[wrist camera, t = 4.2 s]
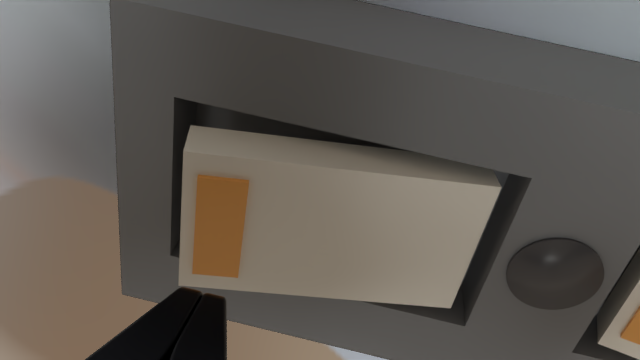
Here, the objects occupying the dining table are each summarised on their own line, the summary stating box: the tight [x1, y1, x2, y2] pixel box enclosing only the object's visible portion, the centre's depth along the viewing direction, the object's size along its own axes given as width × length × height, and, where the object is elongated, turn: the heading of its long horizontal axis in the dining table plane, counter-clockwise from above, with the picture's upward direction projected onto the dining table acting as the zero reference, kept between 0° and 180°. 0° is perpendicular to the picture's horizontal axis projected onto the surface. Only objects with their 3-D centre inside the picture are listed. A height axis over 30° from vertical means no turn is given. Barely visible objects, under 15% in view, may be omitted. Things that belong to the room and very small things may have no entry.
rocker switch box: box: [110, 0, 640, 360], centre depth 14 cm, size 20×8×3 cm, turn 80°
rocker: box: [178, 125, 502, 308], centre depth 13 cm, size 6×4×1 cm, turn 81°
